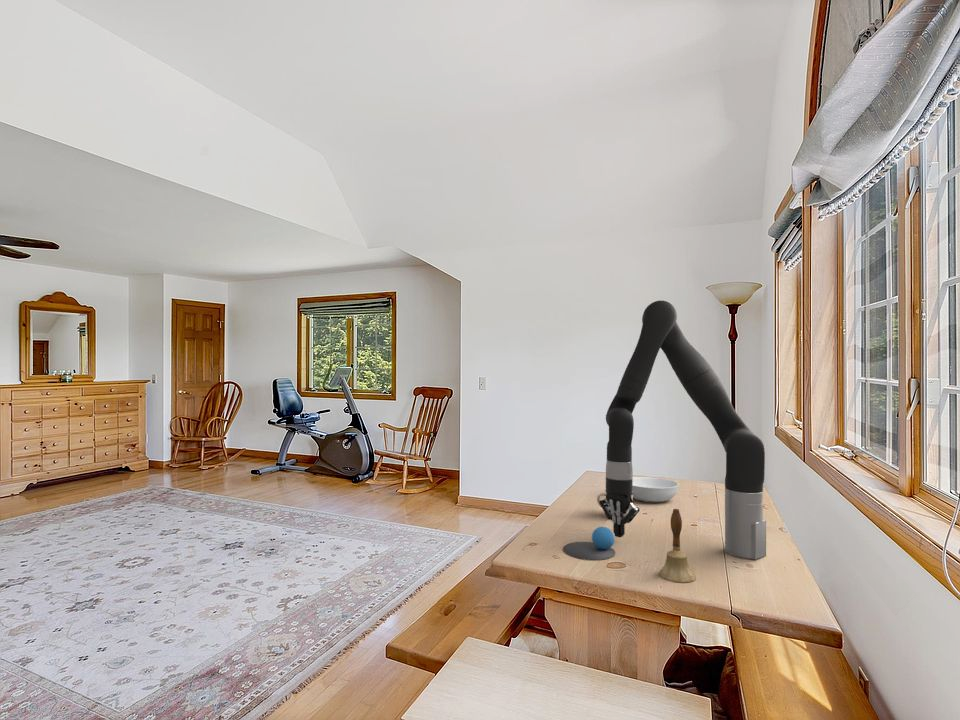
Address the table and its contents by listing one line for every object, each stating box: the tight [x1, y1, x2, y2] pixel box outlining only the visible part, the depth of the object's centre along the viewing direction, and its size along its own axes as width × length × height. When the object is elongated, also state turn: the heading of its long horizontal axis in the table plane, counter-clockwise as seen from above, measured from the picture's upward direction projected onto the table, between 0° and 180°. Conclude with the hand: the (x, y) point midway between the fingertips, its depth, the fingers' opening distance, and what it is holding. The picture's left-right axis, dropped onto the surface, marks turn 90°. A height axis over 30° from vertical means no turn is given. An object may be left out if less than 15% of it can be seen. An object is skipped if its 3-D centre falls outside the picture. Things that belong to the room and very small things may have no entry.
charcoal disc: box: [562, 541, 616, 561], centre depth 141 cm, size 14×14×1 cm
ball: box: [591, 526, 615, 550], centre depth 142 cm, size 6×6×6 cm
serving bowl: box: [633, 476, 680, 503], centre depth 198 cm, size 21×21×7 cm
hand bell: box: [658, 508, 696, 584], centre depth 124 cm, size 8×8×16 cm
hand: (618, 536), depth 149 cm, fingers closed
